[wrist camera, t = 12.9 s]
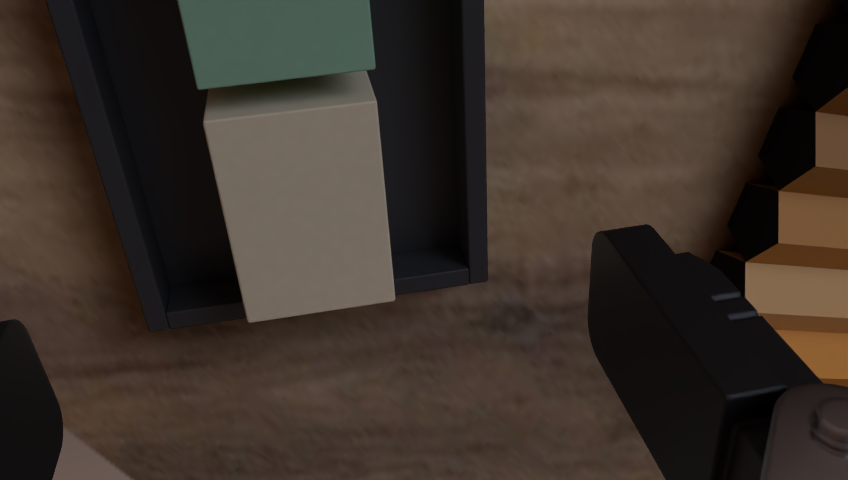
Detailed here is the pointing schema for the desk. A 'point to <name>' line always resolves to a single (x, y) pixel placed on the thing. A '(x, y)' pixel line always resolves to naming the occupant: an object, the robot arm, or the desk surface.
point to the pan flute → (802, 216)
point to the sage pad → (275, 39)
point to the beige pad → (302, 193)
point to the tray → (192, 168)
